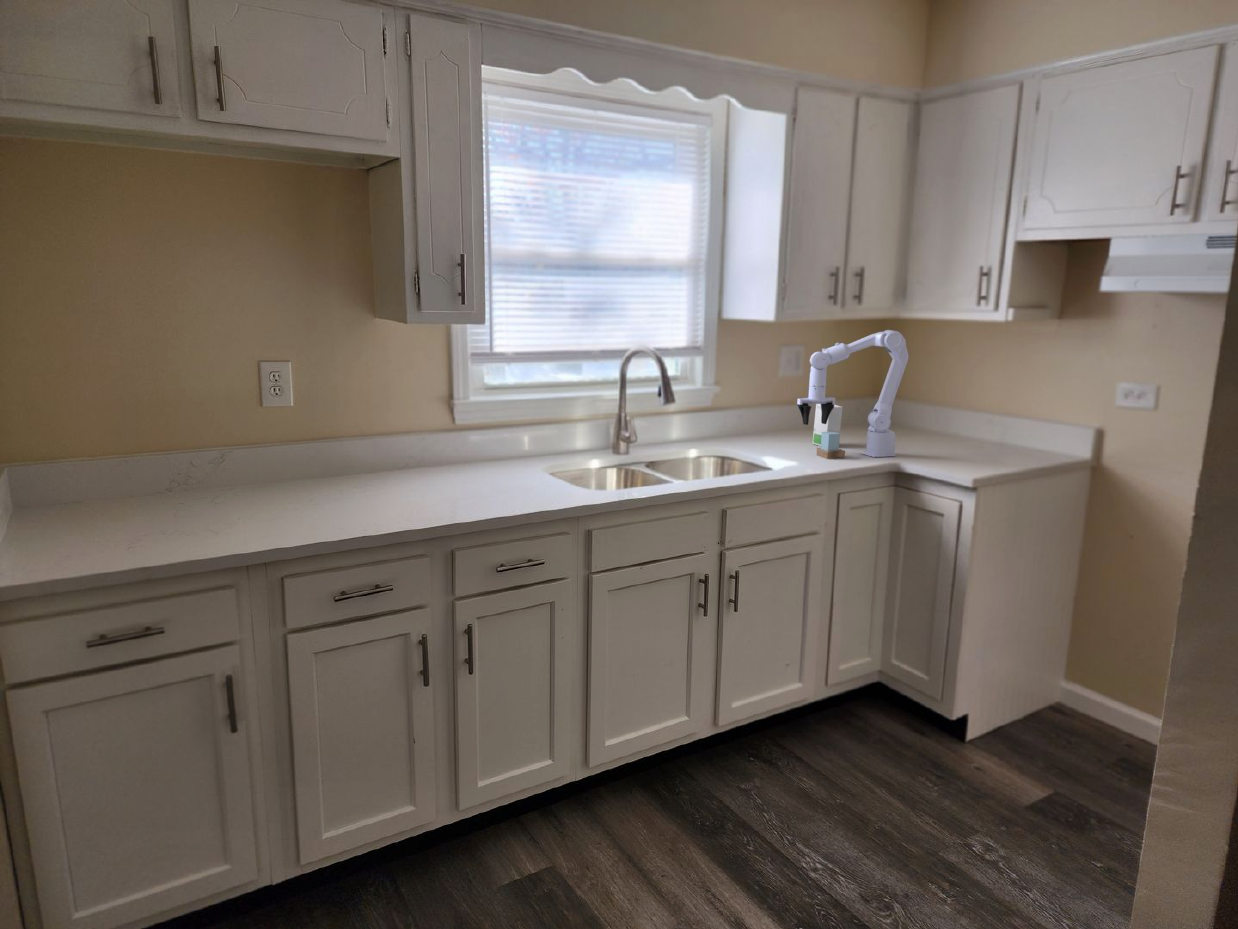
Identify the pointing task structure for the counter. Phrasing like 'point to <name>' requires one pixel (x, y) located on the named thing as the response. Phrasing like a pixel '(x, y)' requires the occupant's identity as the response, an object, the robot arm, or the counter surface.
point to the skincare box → (830, 426)
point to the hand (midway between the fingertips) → (814, 424)
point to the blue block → (830, 441)
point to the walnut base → (830, 454)
